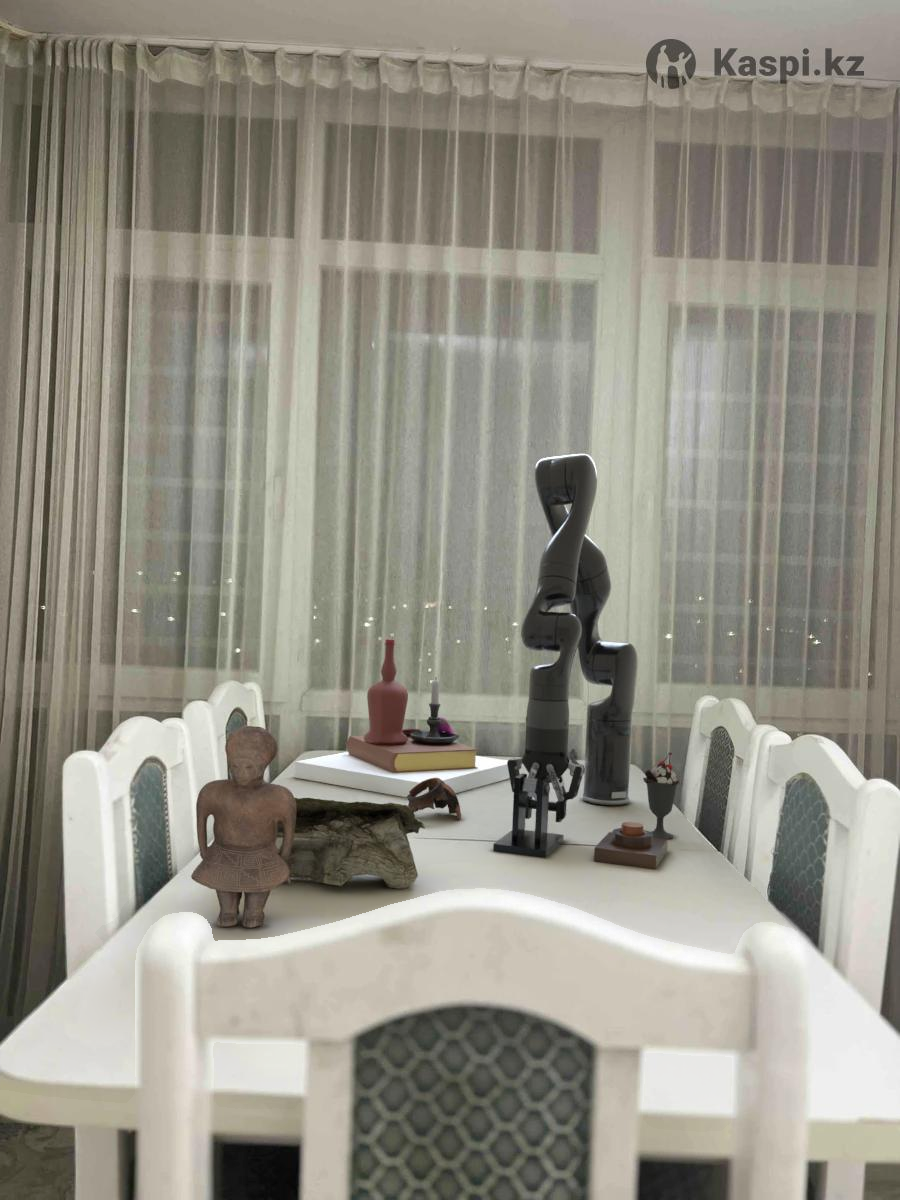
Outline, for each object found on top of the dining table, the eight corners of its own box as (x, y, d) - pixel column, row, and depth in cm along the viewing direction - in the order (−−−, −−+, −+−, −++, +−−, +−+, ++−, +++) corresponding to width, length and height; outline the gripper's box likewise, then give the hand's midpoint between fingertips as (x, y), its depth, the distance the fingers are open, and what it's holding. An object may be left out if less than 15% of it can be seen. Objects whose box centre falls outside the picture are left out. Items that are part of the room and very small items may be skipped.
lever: (530, 811, 187) (532, 798, 188) (557, 814, 186) (559, 801, 187) (514, 790, 177) (516, 776, 178) (543, 793, 175) (545, 779, 176)
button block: (608, 844, 181) (609, 821, 181) (667, 852, 178) (668, 828, 178) (593, 861, 170) (594, 836, 170) (655, 869, 167) (657, 844, 167)
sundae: (680, 834, 191) (683, 752, 191) (675, 842, 185) (679, 757, 185) (643, 829, 194) (647, 748, 193) (638, 837, 187) (641, 754, 187)
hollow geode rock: (230, 910, 152) (214, 855, 141) (243, 834, 161) (229, 776, 150) (423, 912, 152) (422, 857, 141) (425, 836, 161) (425, 778, 150)
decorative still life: (522, 774, 245) (528, 642, 244) (427, 801, 211) (433, 648, 210) (399, 755, 263) (405, 633, 263) (294, 777, 230) (300, 636, 229)
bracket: (513, 835, 185) (516, 768, 185) (563, 841, 182) (566, 774, 182) (493, 850, 174) (496, 779, 174) (545, 857, 171) (548, 785, 171)
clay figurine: (180, 933, 128) (187, 729, 127) (199, 908, 138) (206, 718, 137) (286, 938, 128) (294, 733, 127) (298, 912, 138) (305, 722, 137)
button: (623, 831, 176) (623, 820, 176) (644, 833, 175) (645, 823, 175) (619, 835, 173) (619, 825, 173) (641, 838, 172) (641, 827, 172)
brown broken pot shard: (463, 826, 192) (444, 788, 190) (417, 845, 194) (397, 807, 192) (467, 797, 204) (449, 761, 202) (424, 814, 205) (405, 779, 204)
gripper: (591, 725, 187) (587, 820, 187) (514, 718, 192) (510, 811, 192) (582, 730, 180) (578, 829, 180) (502, 723, 185) (498, 819, 185)
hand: (543, 819), depth 186 cm, fingers closed on lever, 5 cm apart
